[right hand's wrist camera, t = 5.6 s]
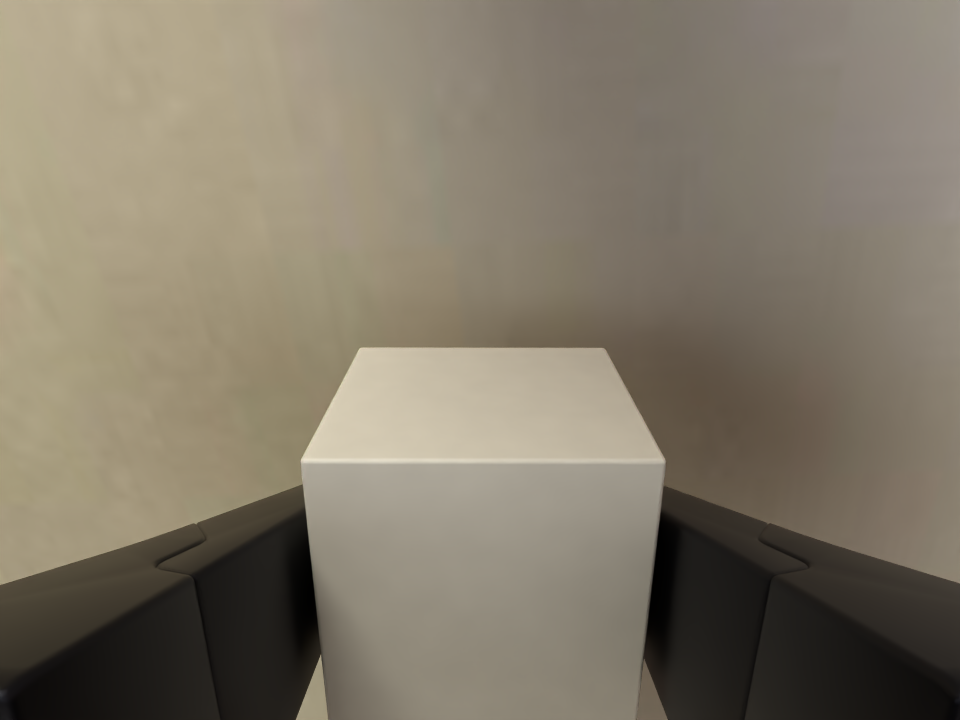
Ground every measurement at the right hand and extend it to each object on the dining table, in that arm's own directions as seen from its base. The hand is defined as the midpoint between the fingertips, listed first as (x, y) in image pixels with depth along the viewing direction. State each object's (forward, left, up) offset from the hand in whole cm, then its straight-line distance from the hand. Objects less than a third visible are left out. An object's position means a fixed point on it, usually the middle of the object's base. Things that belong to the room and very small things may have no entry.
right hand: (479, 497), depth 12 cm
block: (0, 0, -1) cm, 1 cm away
